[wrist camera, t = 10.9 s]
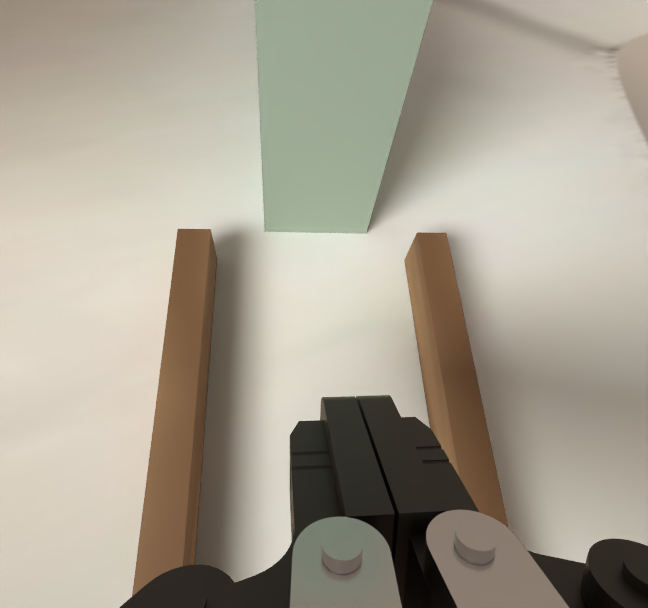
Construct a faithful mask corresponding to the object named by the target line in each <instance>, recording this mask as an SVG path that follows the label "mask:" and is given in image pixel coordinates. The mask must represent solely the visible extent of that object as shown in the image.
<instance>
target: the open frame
mask: <svg viewBox="0 0 648 608" xmlns="http://www.w3.org/2000/svg"><path fill="white" fill-rule="evenodd" d="M216 263H217V257H216V252H215V248H214V243H213V238H212V234H211V229H178V232H177V240H176V248H175V256H174V264H173V272H172V281H171V289H170V297H169V305H168V313H167V321H166V329H165V337H164V345H163V353H162V361H161V369H160V377H159V385H158V393H157V401H156V409H155V417H154V425H153V433H152V441H151V449H150V458H149V466H148V474H147V482H146V490H145V498H144V506H143V514H142V522H141V530H140V538H139V546H138V554H137V562H136V570H135V578H134V586H133V594H132V596H134V595H135V594H136V593H137V592H138V591H139V590H141V589H142V588H143V587H144V586H145V585H146V584H148V583H149V582H150V581H152V580H153V579H154V578H156V577H158V576H159V575H161V574H163V573H165V572H167V571H169V570H172V569H175V568H178V567H181V566H187V565H195V551H196V537H197V524H198V510H199V496H200V483H201V469H202V455H203V442H204V428H205V414H206V400H207V387H208V373H209V359H210V346H211V332H212V318H213V304H214V291H215V277H216ZM405 267H406V273H407V280H408V286H409V293H410V299H411V306H412V312H413V319H414V325H415V332H416V339H417V345H418V352H419V358H420V365H421V371H422V378H423V384H424V391H425V397H426V404H427V410H428V417H429V424H430V429H431V430H432V431H433V433H434V434H435V436H436V438H437V440H438V441H439V443H440V445H441V449H443V450H444V452H445V453H446V455H447V457H448V458H449V463H451V464H452V465H453V467H454V469H455V470H456V472H457V474H458V476H459V477H460V479H461V481H462V483H463V484H464V486H465V488H466V489H467V491H468V493H469V495H470V496H471V498H472V500H473V501H474V503H475V505H476V507H477V508H478V510H479V512H480V513H482V514H485V515H488V516H490V517H492V518H494V519H496V520H498V521H499V522H501V523H502V524H504V525H505V526H506V527H508V524H507V519H506V515H505V510H504V505H503V500H502V496H501V491H500V486H499V481H498V477H497V472H496V467H495V462H494V458H493V453H492V448H491V443H490V438H489V434H488V429H487V424H486V419H485V415H484V410H483V405H482V400H481V396H480V391H479V386H478V381H477V377H476V372H475V367H474V362H473V358H472V353H471V348H470V343H469V338H468V334H467V329H466V324H465V319H464V315H463V310H462V305H461V300H460V296H459V291H458V286H457V281H456V277H455V272H454V267H453V262H452V258H451V253H450V248H449V243H448V238H447V234H446V233H417V234H416V236H415V238H414V240H413V243H412V245H411V247H410V249H409V252H408V254H407V256H406V258H405Z"/></svg>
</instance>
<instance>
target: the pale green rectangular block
mask: <svg viewBox="0 0 648 608" xmlns="http://www.w3.org/2000/svg"><path fill="white" fill-rule="evenodd" d="M432 3H433V0H255V12H256V36H257V60H258V84H259V108H260V132H261V156H262V180H263V204H264V228H265V232H313V233H367V229H368V226H369V222H370V219H371V215H372V212H373V208H374V205H375V201H376V198H377V194H378V191H379V187H380V184H381V181H382V177H383V174H384V170H385V167H386V163H387V160H388V156H389V153H390V149H391V146H392V142H393V139H394V135H395V132H396V128H397V125H398V121H399V118H400V114H401V111H402V107H403V104H404V100H405V97H406V93H407V90H408V86H409V83H410V79H411V76H412V73H413V69H414V66H415V62H416V59H417V55H418V52H419V48H420V45H421V41H422V38H423V34H424V31H425V27H426V24H427V20H428V17H429V13H430V10H431V6H432Z"/></svg>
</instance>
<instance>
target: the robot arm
mask: <svg viewBox="0 0 648 608" xmlns="http://www.w3.org/2000/svg"><path fill="white" fill-rule="evenodd" d="M290 510H291V532H292V543H291V545H290V548H289V549H288V551H287V552H286V554H285V555H284V556H283V557H282V558H281V559H280V560H279V561H278V562H277V563H276V564H275V565H273V566H272V567H270V568H269V569H267V570H266V571H264V572H262V573H259V574H257V575H255V576H252V577H250V578H247V579H244V580H242V581H239V582H236V583H234V581H233V580H232V579H231V578H230V577H229V576H228V575H227V574H226V573H224V572H223V571H221V570H219V569H217V568H214V567H211V566H206V565H187V566H181V567H178V568H175V569H172V570H169V571H167V572H165V573H163V574H161V575H159V576H158V577H156V578H154V579H153V580H152V581H150V582H149V583H148V584H146V585H145V586H144V587H143V588H142V589H141V590H139V591H138V592H137V593H136V594H135V595H134V596H132V597H131V598H130V599H129V600H128V601H127V602H126V603H124V604H123V605H122V606H121V607H120V608H648V546H646V545H643V544H640V543H637V542H633V541H629V540H623V539H605V540H602V541H599V542H597V543H595V544H594V545H593V546H592V547H591V548H590V550H589V553H588V556H587V560H586V564H584V563H579V562H575V561H570V560H565V559H560V558H555V557H550V556H545V555H541V554H537V553H533V552H530V551H527V550H526V548H525V547H524V546H523V544H522V543H521V542H520V540H519V539H518V538H517V536H516V535H515V534H514V533H513V532H512V531H511V530H510V529H509V528H508V527H506V526H505V525H504V524H502V523H501V522H499V521H498V520H496V519H494V518H492V517H490V516H488V515H485V514H482V513H480V512H479V510H478V508H477V507H476V505H475V503H474V501H473V500H472V498H471V496H470V495H469V493H468V491H467V489H466V488H465V486H464V484H463V483H462V481H461V479H460V477H459V476H458V474H457V472H456V470H455V469H454V467H453V465H452V464H451V463H449V458H448V457H447V455H446V453H445V452H444V450H443V449H441V445H440V443H439V441H438V440H437V438H436V436H435V434H434V433H433V431H432V430H431V429H430V428H429V427H427V426H426V425H425V424H423V423H422V422H421V421H420V420H418V419H417V418H416V417H400V414H399V412H398V410H397V408H396V406H395V404H394V402H393V400H392V398H391V396H389V395H382V396H357V397H356V398H355V397H354V396H353V397H322V399H321V416H320V421H299V422H298V424H297V425H296V427H295V428H294V430H293V432H292V433H291V435H290Z"/></svg>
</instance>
